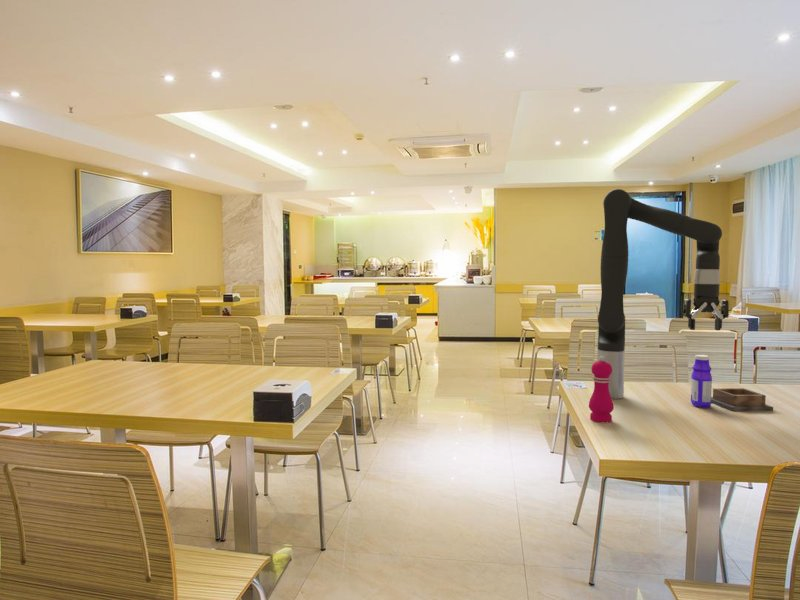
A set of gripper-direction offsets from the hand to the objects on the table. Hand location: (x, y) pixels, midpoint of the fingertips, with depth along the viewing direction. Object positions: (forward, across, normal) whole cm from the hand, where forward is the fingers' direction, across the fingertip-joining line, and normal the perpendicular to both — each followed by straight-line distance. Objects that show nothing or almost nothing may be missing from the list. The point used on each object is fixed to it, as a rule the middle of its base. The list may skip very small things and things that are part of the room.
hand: (704, 329), depth 181 cm
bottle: (+26, -1, -2) cm, 26 cm away
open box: (+26, +12, -1) cm, 28 cm away
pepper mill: (+27, -41, -20) cm, 53 cm away
